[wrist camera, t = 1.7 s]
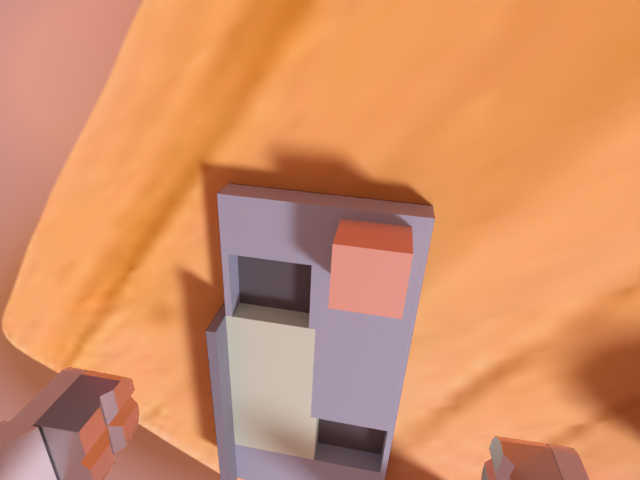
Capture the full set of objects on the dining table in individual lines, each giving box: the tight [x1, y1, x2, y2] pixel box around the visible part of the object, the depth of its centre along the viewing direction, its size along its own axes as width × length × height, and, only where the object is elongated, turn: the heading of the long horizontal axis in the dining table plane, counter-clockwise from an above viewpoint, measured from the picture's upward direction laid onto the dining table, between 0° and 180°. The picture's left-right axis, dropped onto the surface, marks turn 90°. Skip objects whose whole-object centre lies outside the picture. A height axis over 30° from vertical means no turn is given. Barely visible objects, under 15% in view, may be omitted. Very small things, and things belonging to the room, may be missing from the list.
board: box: [206, 183, 435, 480], centre depth 34 cm, size 30×15×4 cm, turn 177°
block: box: [328, 219, 413, 319], centre depth 26 cm, size 4×4×4 cm
